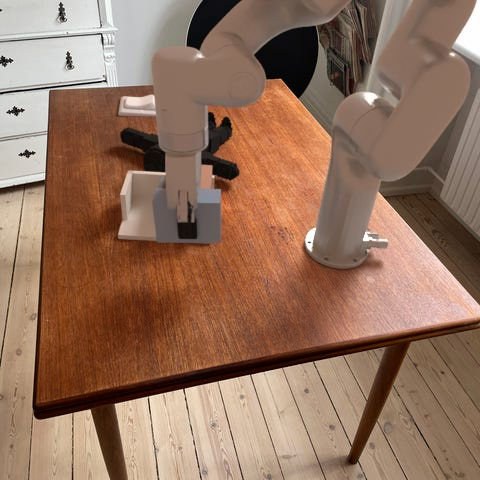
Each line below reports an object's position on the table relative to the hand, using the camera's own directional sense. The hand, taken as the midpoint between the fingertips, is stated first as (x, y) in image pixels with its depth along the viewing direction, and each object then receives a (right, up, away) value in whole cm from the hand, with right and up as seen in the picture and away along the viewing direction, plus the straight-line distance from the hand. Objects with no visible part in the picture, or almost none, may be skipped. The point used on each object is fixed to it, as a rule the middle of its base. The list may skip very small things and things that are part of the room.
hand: (189, 228), depth 86 cm
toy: (-4, +18, +37) cm, 42 cm away
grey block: (0, -1, +1) cm, 2 cm away
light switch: (-19, +35, +57) cm, 70 cm away
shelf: (-6, +2, +16) cm, 18 cm away
